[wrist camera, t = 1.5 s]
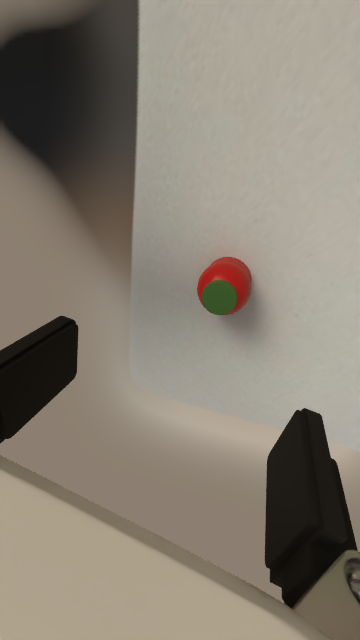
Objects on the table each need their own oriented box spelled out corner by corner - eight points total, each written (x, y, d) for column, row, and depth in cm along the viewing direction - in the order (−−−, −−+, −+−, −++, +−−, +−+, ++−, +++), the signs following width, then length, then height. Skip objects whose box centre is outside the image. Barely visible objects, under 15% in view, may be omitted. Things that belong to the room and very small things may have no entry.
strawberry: (195, 277, 24) (179, 296, 20) (229, 245, 22) (219, 258, 18) (226, 310, 25) (217, 334, 21) (262, 281, 23) (261, 301, 19)
